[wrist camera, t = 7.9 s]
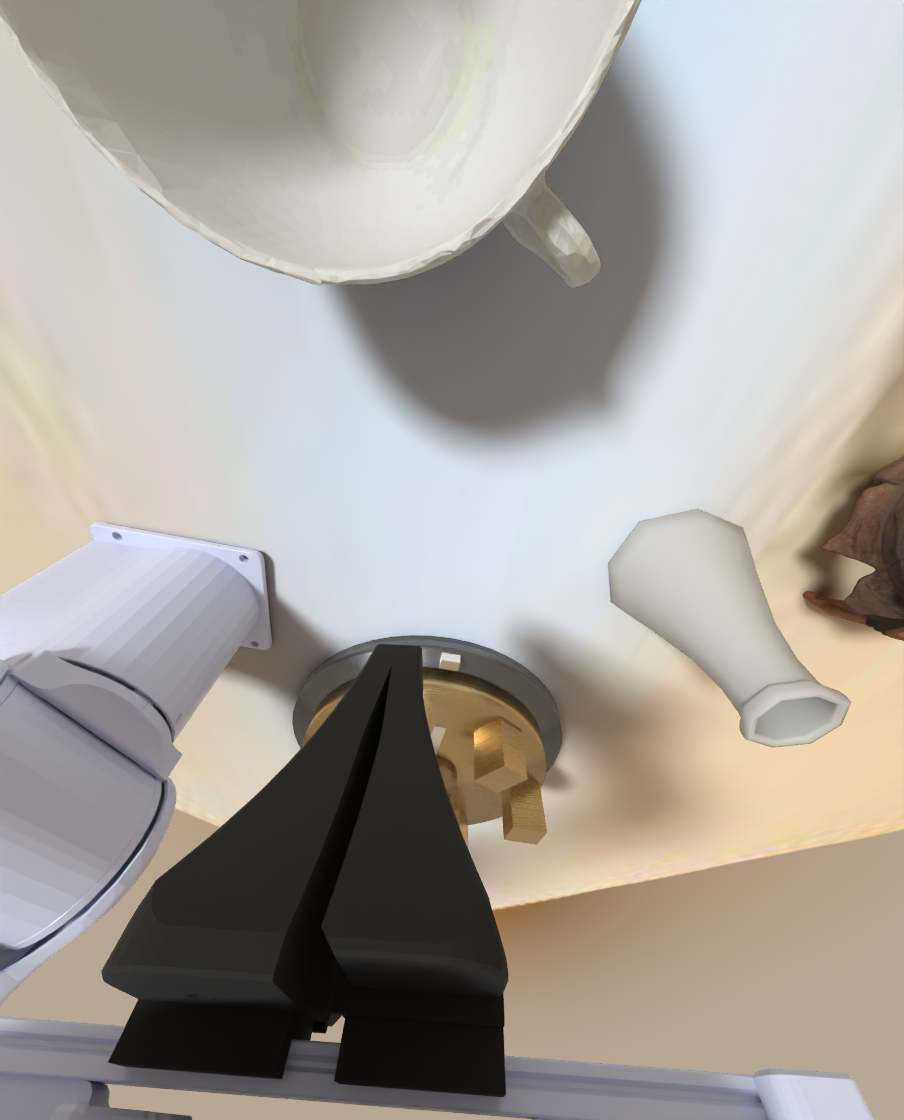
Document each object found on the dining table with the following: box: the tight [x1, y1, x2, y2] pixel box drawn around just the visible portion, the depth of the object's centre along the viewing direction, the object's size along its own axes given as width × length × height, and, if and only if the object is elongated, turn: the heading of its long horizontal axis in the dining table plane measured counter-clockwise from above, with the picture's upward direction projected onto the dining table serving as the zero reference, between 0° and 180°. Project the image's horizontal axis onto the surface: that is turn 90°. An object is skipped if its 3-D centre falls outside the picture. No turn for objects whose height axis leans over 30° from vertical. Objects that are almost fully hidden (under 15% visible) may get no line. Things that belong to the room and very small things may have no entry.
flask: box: [608, 509, 851, 747], centre depth 17 cm, size 7×7×10 cm
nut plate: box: [293, 636, 562, 772], centre depth 30 cm, size 21×21×2 cm
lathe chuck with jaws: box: [302, 668, 547, 848], centre depth 28 cm, size 18×18×5 cm
